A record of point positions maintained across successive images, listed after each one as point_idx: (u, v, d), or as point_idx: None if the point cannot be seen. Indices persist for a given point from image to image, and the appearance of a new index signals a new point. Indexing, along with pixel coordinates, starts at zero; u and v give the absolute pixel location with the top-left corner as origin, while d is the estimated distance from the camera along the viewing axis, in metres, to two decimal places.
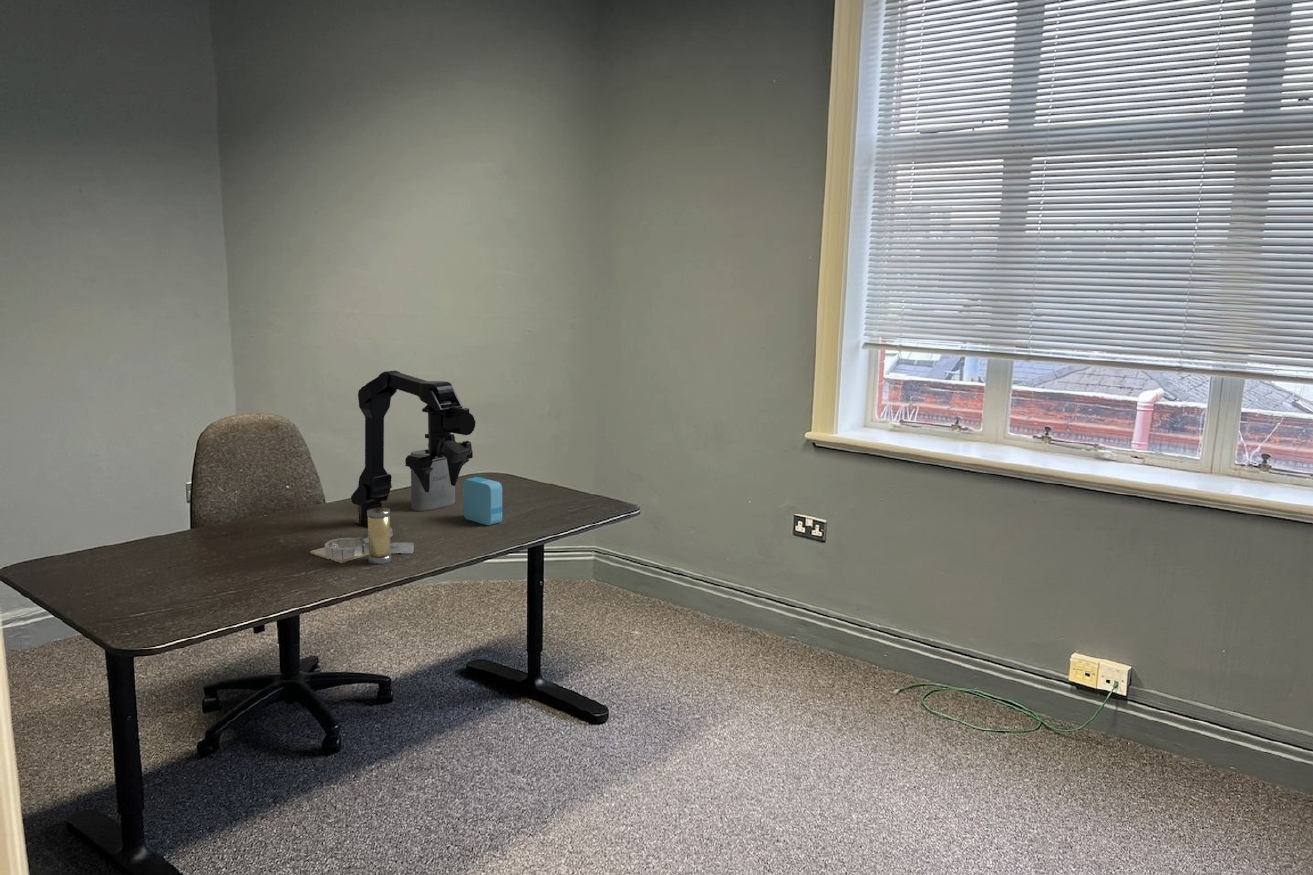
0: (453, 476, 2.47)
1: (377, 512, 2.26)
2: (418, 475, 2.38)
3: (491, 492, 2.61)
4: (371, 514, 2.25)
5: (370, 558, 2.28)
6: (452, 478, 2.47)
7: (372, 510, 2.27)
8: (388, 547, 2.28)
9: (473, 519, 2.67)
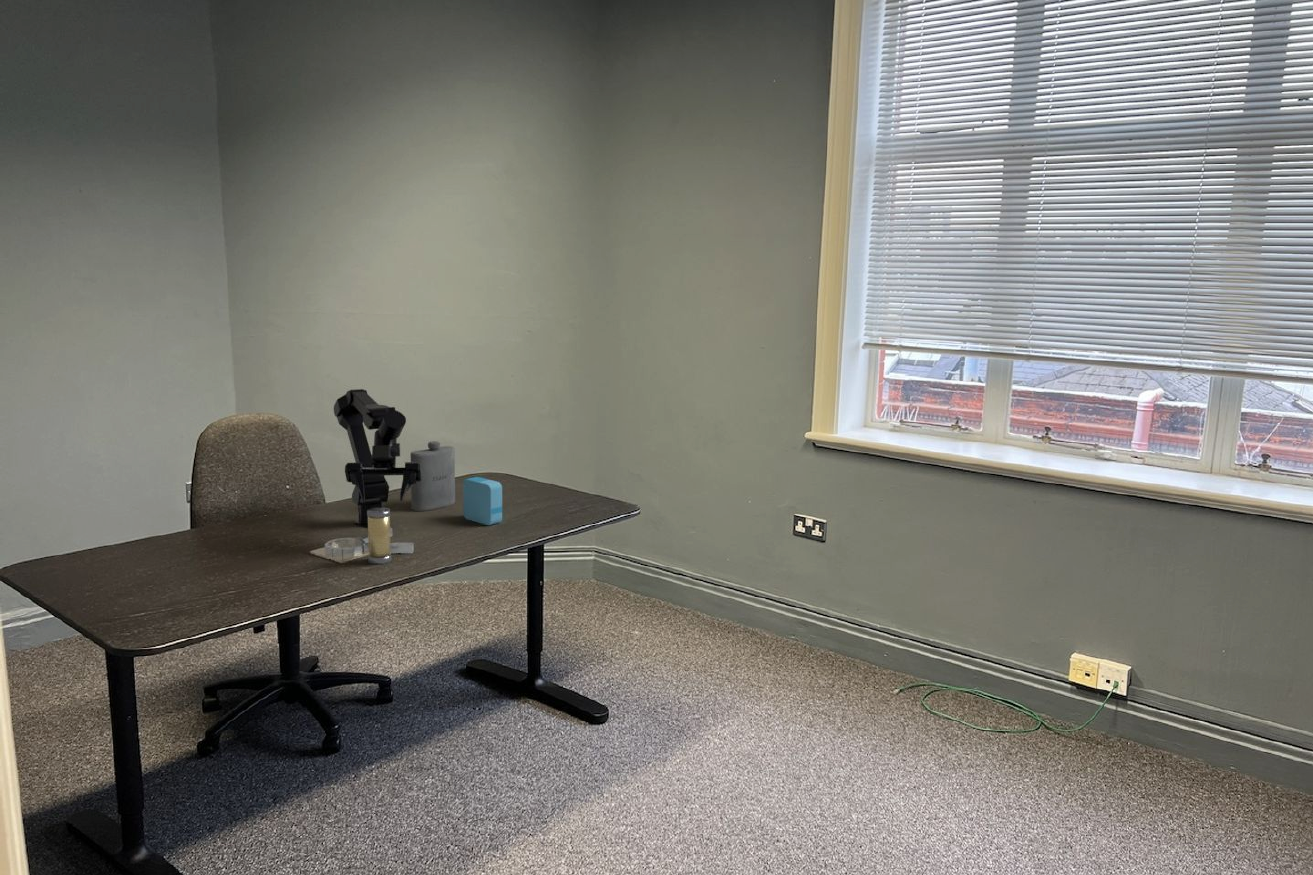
0: (401, 491, 2.37)
1: (377, 512, 2.26)
2: (358, 488, 2.38)
3: (491, 492, 2.61)
4: (371, 514, 2.25)
5: (370, 558, 2.28)
6: None
7: (372, 510, 2.27)
8: (388, 547, 2.28)
9: (473, 519, 2.67)
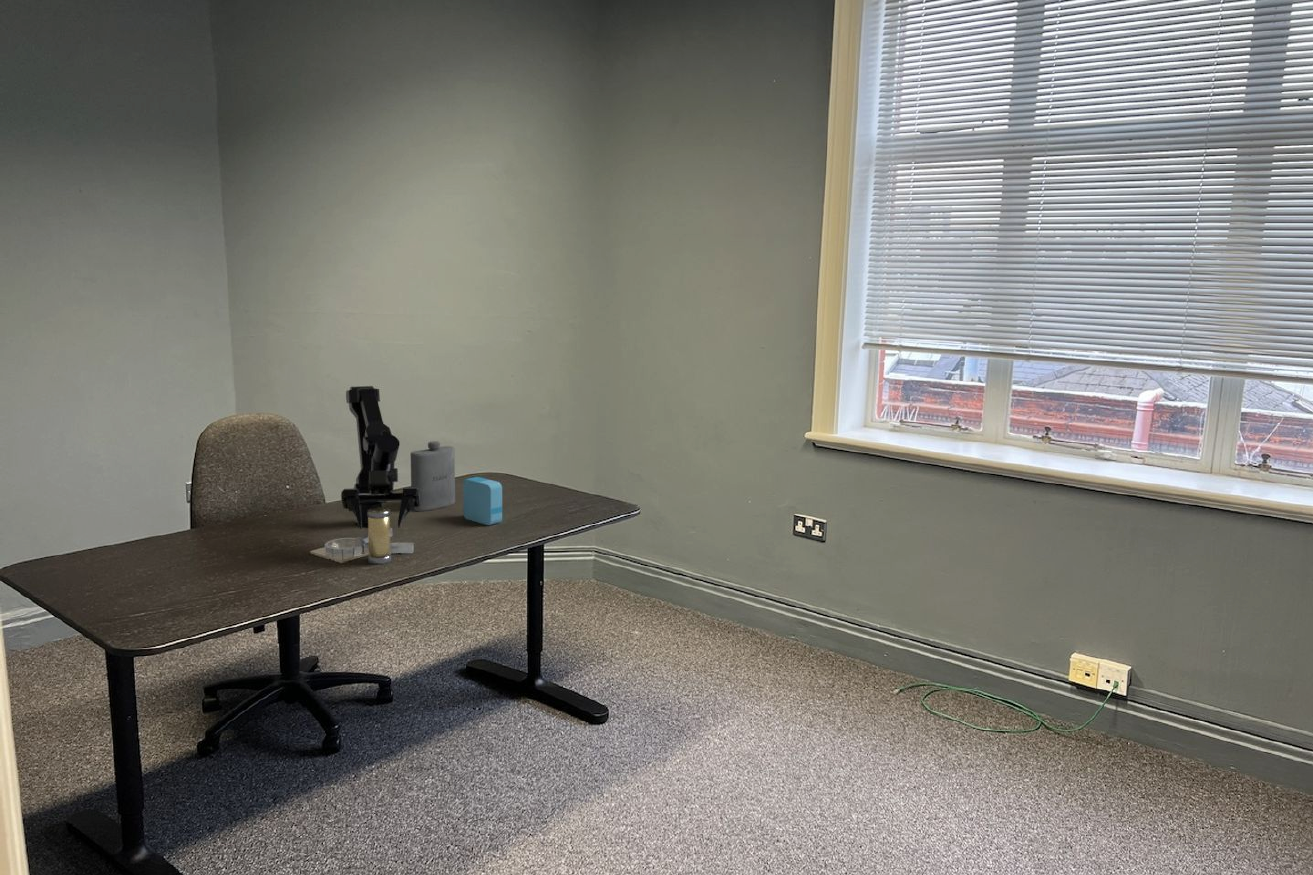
0: (399, 517, 2.31)
1: (377, 512, 2.26)
2: (355, 515, 2.32)
3: (491, 492, 2.61)
4: (371, 514, 2.25)
5: (370, 558, 2.28)
6: None
7: (372, 510, 2.27)
8: (388, 547, 2.28)
9: (473, 519, 2.67)
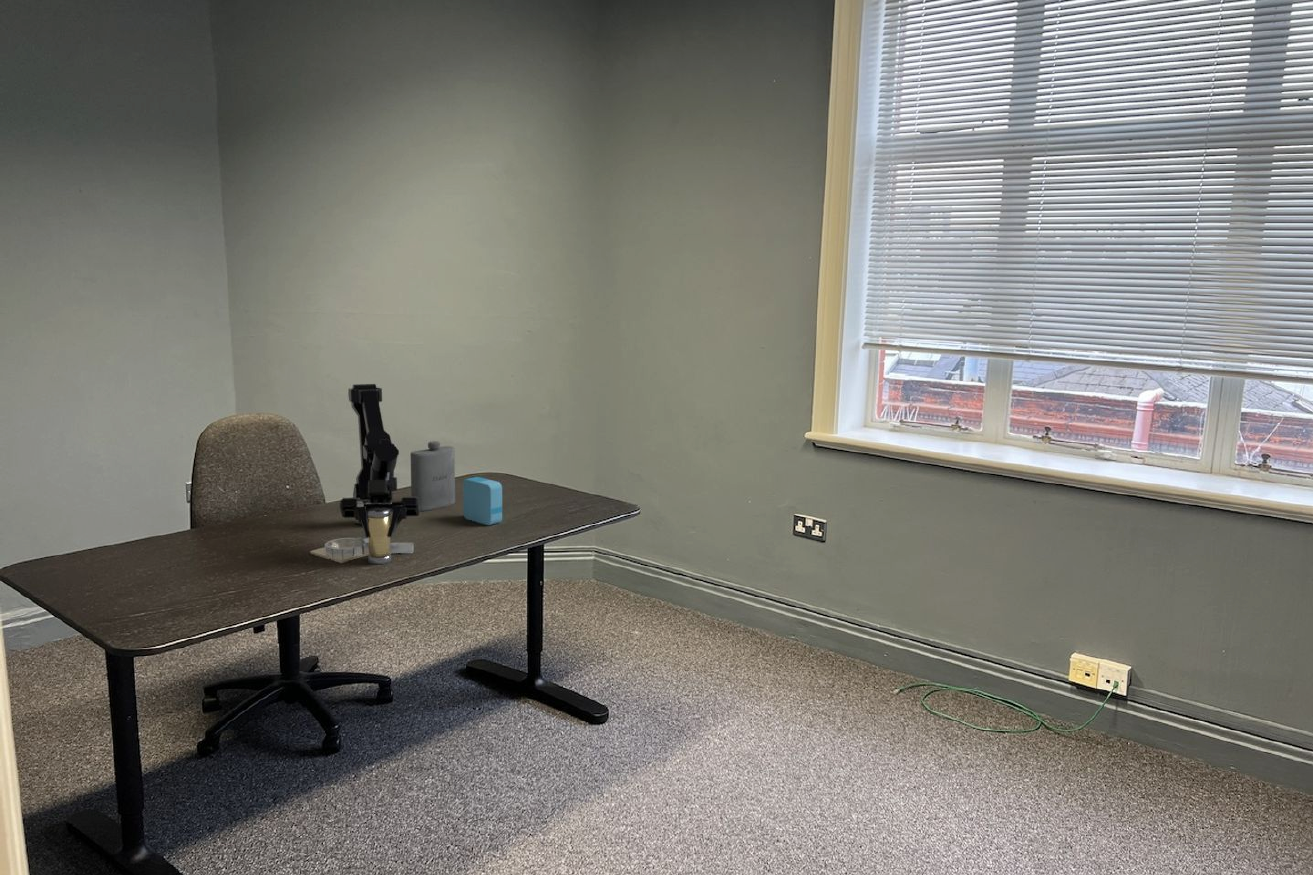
0: None
1: (377, 512, 2.26)
2: (362, 524, 2.30)
3: (491, 492, 2.61)
4: (371, 514, 2.25)
5: (370, 558, 2.28)
6: (390, 529, 2.29)
7: (372, 510, 2.27)
8: (388, 547, 2.28)
9: (473, 519, 2.67)
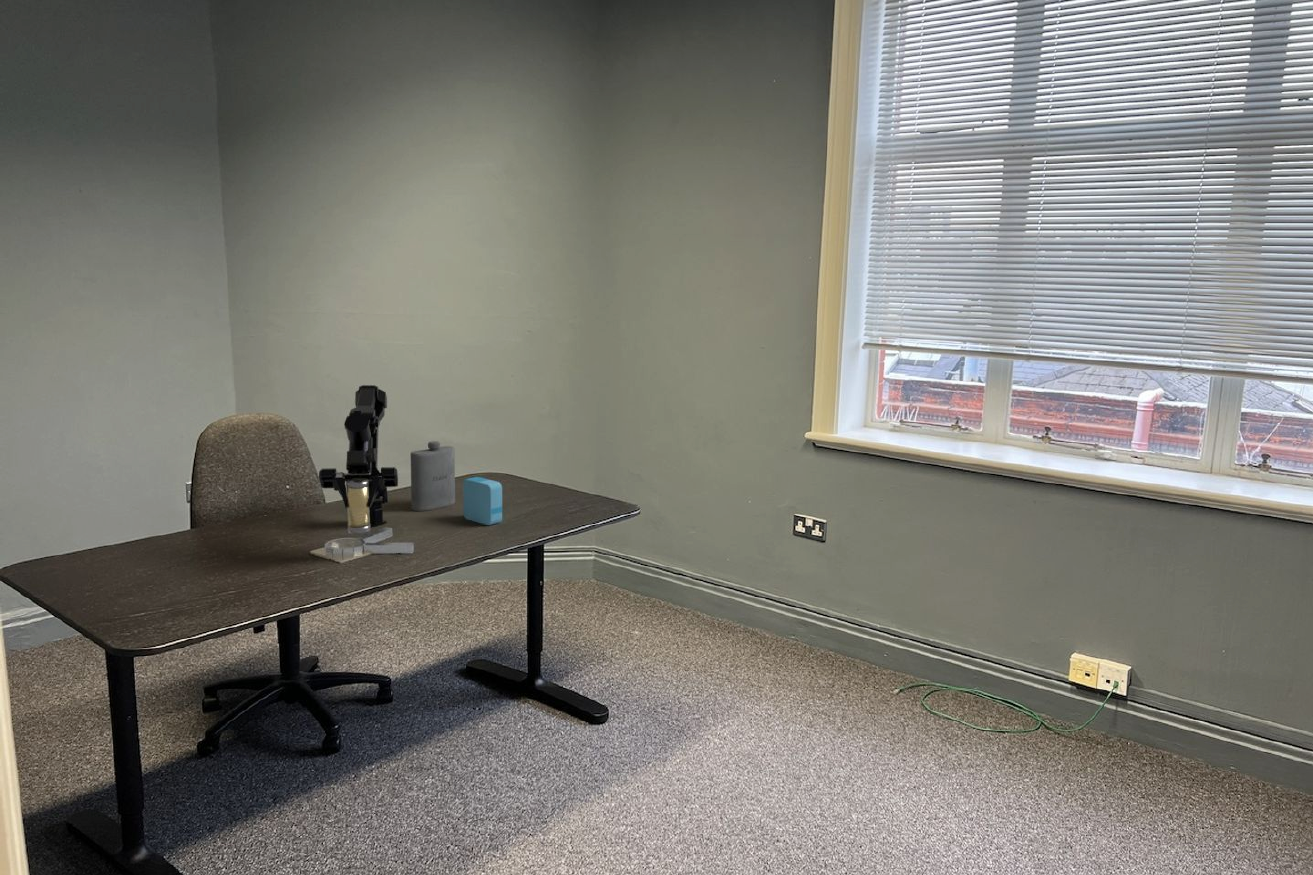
0: None
1: (356, 482, 2.28)
2: (341, 494, 2.33)
3: (491, 492, 2.61)
4: (350, 485, 2.28)
5: (349, 528, 2.30)
6: (369, 500, 2.32)
7: (351, 481, 2.30)
8: (367, 517, 2.31)
9: (473, 519, 2.67)
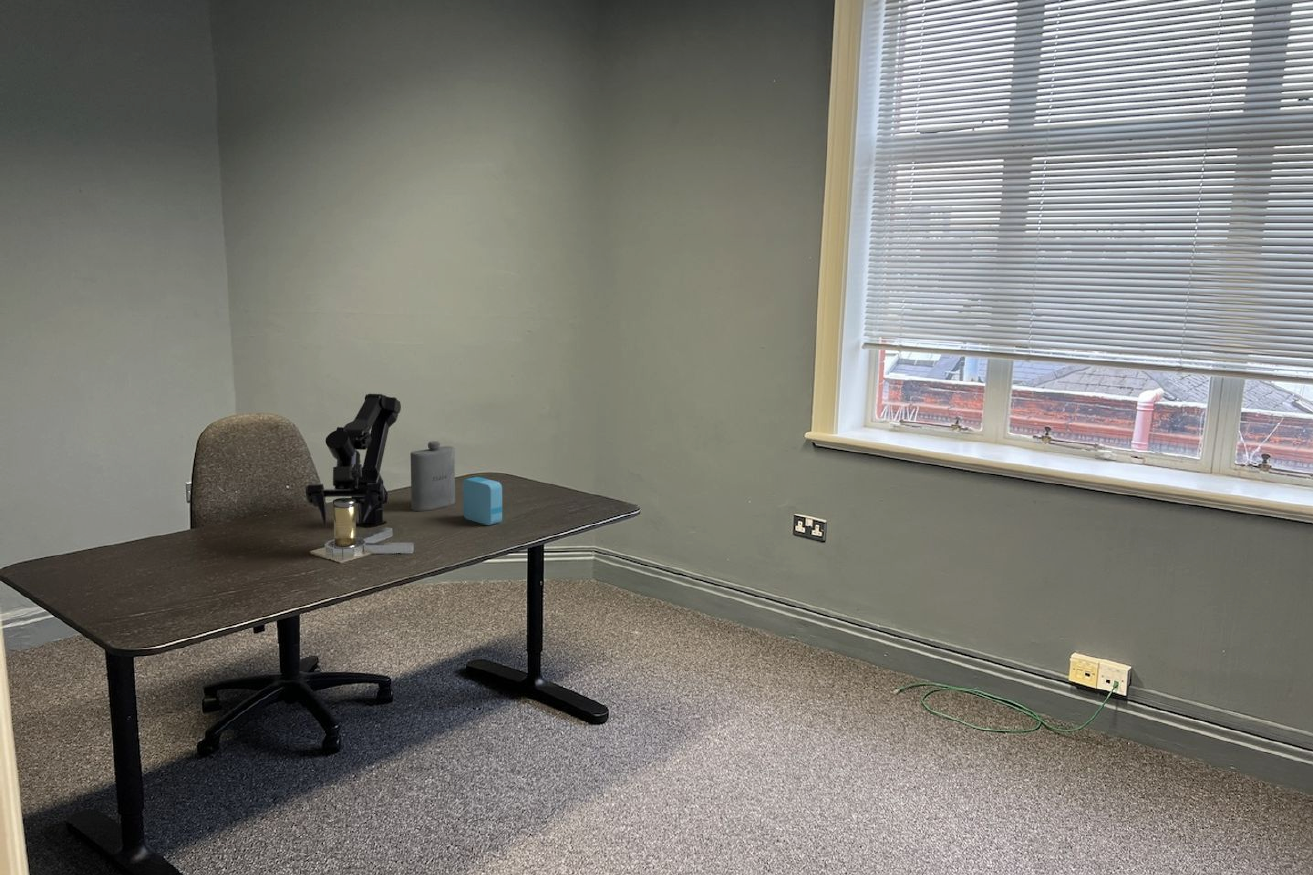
0: None
1: (342, 502, 2.31)
2: (320, 510, 2.35)
3: (491, 492, 2.61)
4: (336, 504, 2.31)
5: (335, 547, 2.33)
6: None
7: (338, 500, 2.33)
8: (353, 536, 2.34)
9: (473, 519, 2.67)
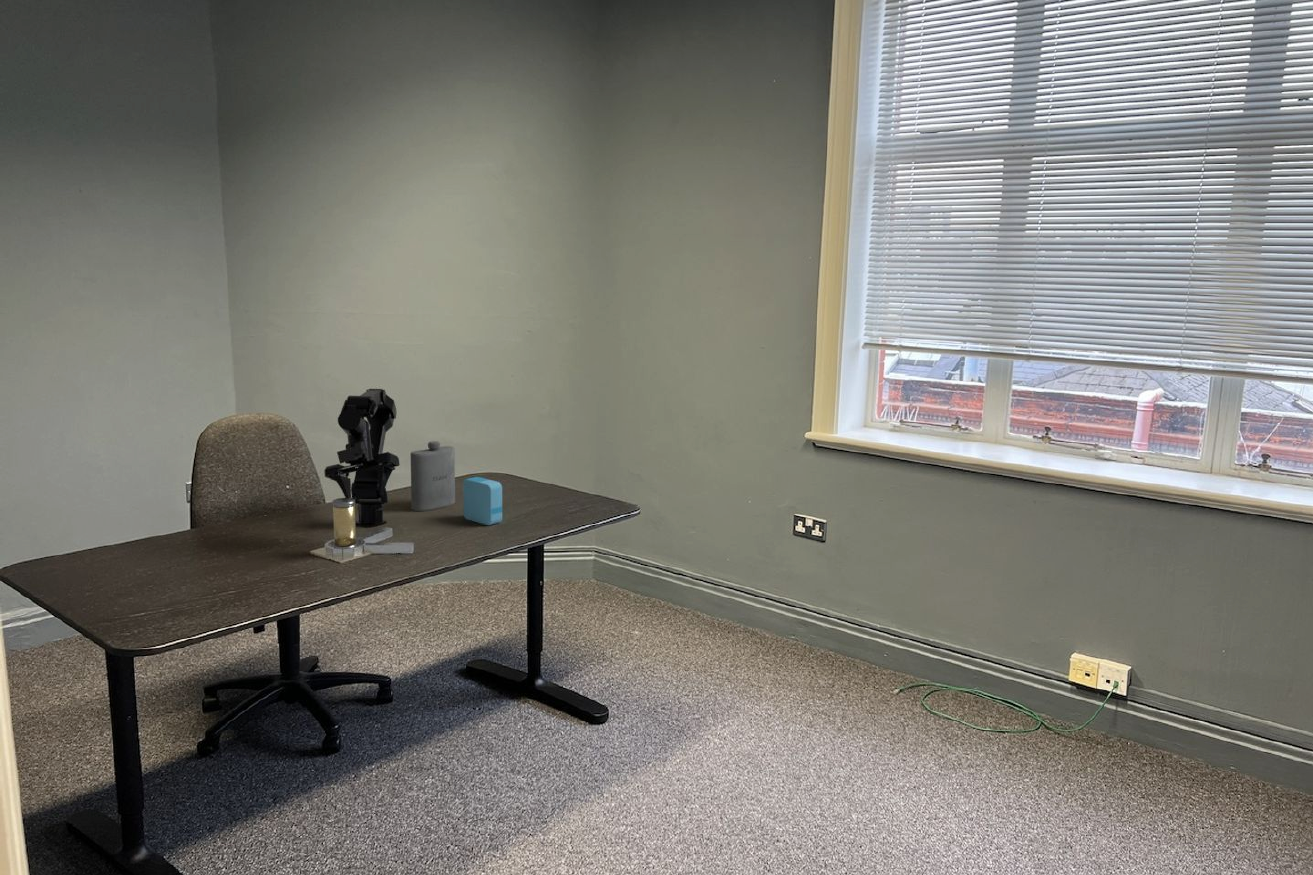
0: None
1: (342, 502, 2.31)
2: None
3: (491, 492, 2.61)
4: (336, 504, 2.31)
5: (335, 547, 2.33)
6: None
7: (338, 500, 2.33)
8: (353, 536, 2.34)
9: (473, 519, 2.67)
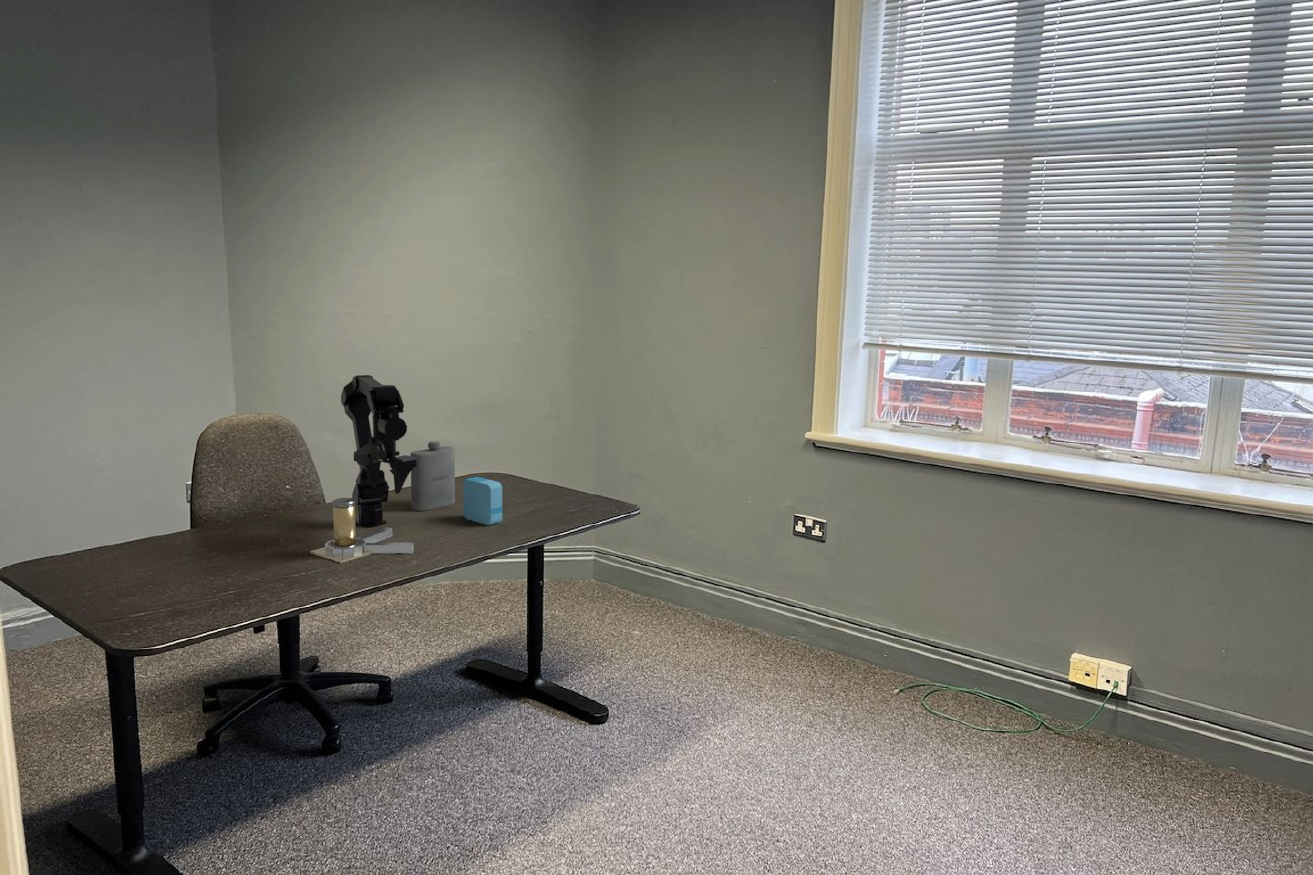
0: None
1: (342, 502, 2.31)
2: None
3: (491, 492, 2.61)
4: (336, 504, 2.31)
5: (335, 547, 2.33)
6: None
7: (338, 500, 2.33)
8: (353, 536, 2.34)
9: (473, 519, 2.67)
